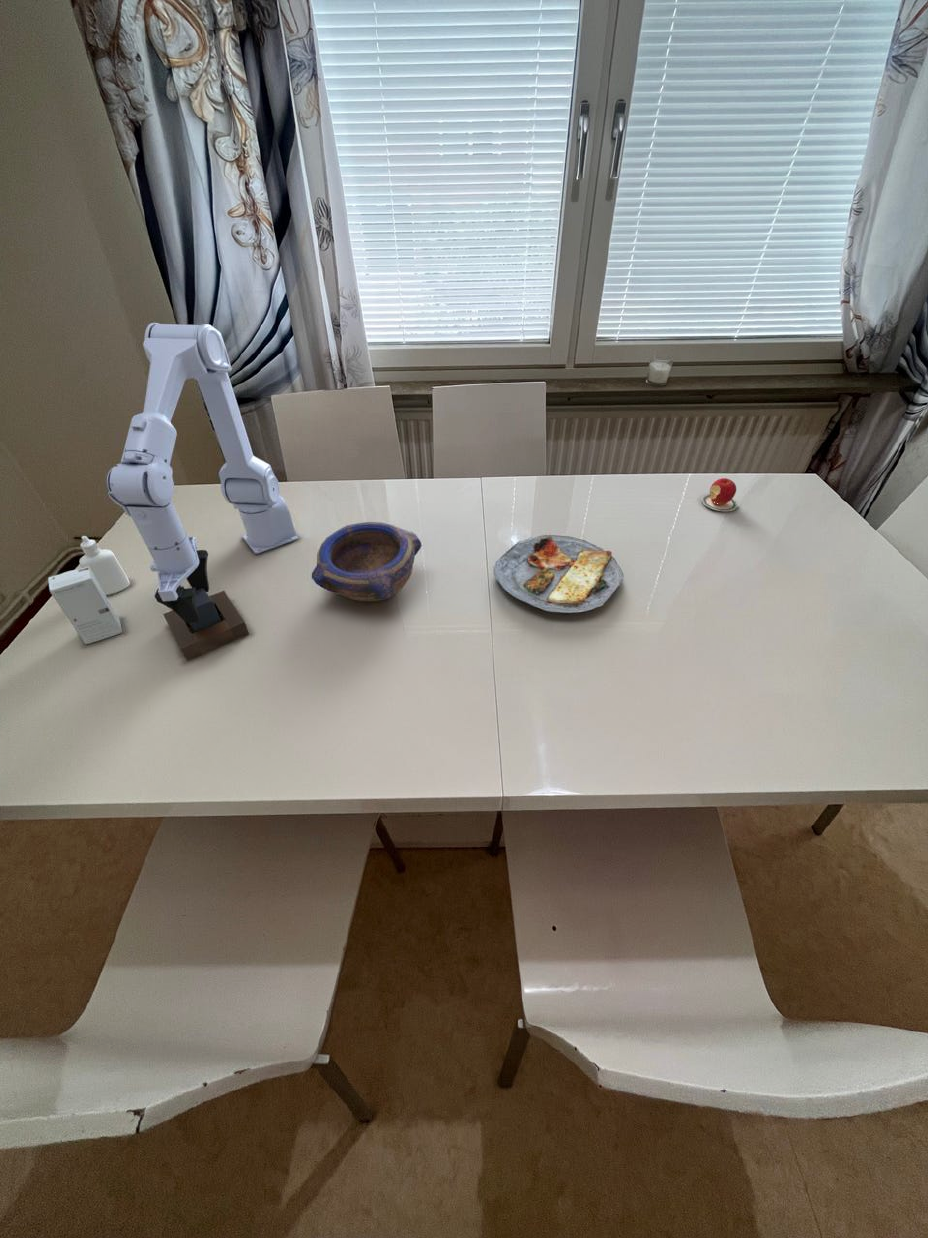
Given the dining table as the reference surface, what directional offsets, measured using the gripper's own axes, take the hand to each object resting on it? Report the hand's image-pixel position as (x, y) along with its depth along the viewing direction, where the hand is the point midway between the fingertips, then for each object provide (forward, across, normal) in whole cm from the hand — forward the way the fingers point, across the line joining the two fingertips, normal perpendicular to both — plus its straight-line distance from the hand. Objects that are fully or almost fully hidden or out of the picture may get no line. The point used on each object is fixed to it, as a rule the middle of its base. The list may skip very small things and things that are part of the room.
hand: (197, 605), depth 88 cm
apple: (+6, -27, +112) cm, 115 cm away
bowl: (+6, -8, +29) cm, 30 cm away
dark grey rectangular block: (+6, 0, 0) cm, 6 cm away
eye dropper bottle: (+6, -15, -21) cm, 26 cm away
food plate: (+6, -5, +66) cm, 66 cm away
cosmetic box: (+6, -2, -18) cm, 20 cm away
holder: (+6, 0, 0) cm, 6 cm away
